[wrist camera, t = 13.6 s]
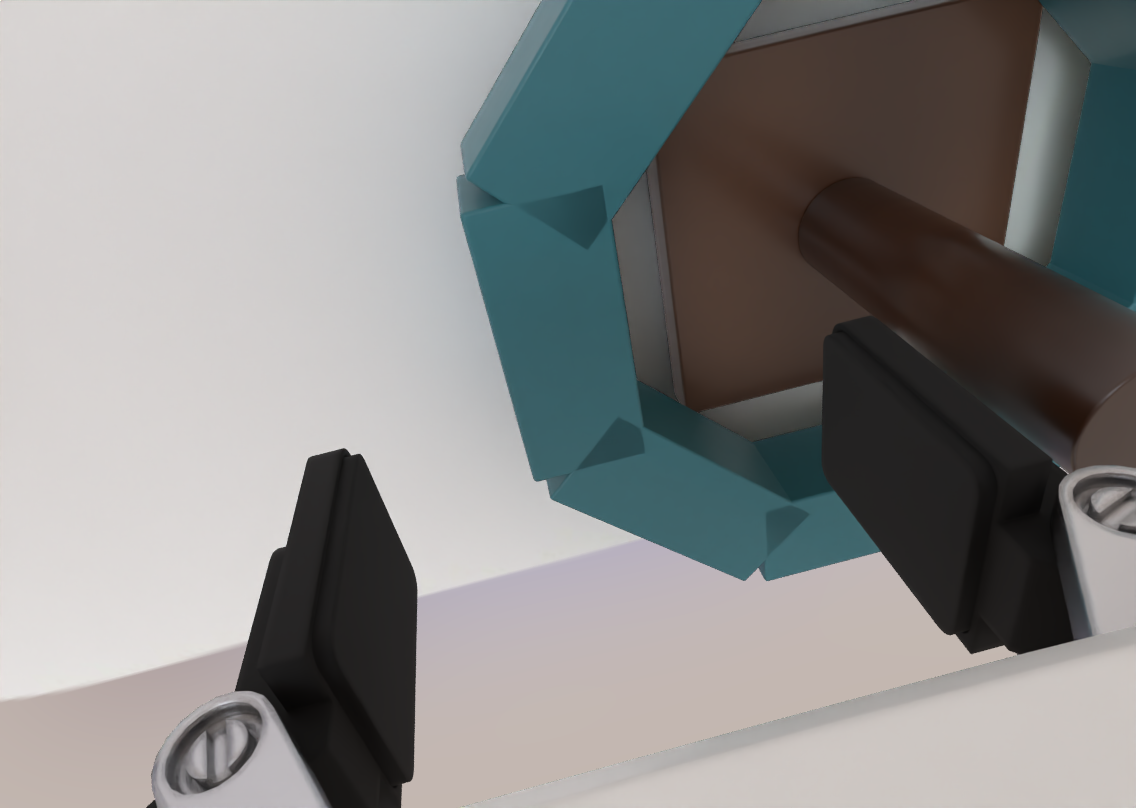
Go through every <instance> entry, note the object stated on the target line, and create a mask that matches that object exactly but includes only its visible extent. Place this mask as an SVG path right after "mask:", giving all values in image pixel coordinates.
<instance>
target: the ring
mask: <svg viewBox="0 0 1136 808" xmlns="http://www.w3.org/2000/svg"><path fill="white" fill-rule="evenodd" d="M761 1H762V0H542V1H541V3H540V4H539V6H538V8H537V10H536V11H535V13H534V15H533V17H532V18H531V20H530V22H529V24H528V26H527V27H526V29H525V31H524V33H523V34H522V36H521V38H520V40H519V41H518V43H517V45H516V47H515V48H514V50H513V52H512V54H511V56H510V57H509V59H508V61H507V63H506V64H505V66H504V68H503V70H502V71H501V73H500V75H499V77H498V78H497V80H496V82H495V84H494V86H493V87H492V89H491V91H490V93H489V94H488V96H487V98H486V100H485V101H484V103H483V105H482V107H481V109H480V110H479V112H478V114H477V116H476V117H475V119H474V121H473V123H472V124H471V126H470V128H469V130H468V131H467V133H466V135H465V137H464V139H463V140H462V142H461V151H462V158H463V164H464V171H465V175H460V176H458V177H457V190H458V199H459V209H460V218H461V221H462V225H463V228H464V232H465V235H466V239H467V243H468V246H469V250H470V253H471V257H472V261H473V264H474V268H475V271H476V275H477V278H478V282H479V286H480V289H481V293H482V296H483V300H484V304H485V307H486V311H487V314H488V318H489V321H490V325H491V329H492V332H493V336H494V339H495V343H496V347H497V350H498V354H499V357H500V361H501V364H502V368H503V372H504V375H505V379H506V382H507V386H508V390H509V393H510V397H511V400H512V404H513V407H514V411H515V415H516V418H517V422H518V425H519V429H520V433H521V436H522V440H523V443H524V447H525V450H526V454H527V458H528V461H529V465H530V468H531V472H532V475H533V479H534V480H535V481H542V480H547V485H548V489H549V494H550V498H551V499H552V500H554V501H556V502H559V503H561V504H563V505H566V506H568V507H571V508H573V509H575V510H578V511H580V512H582V513H585V514H587V515H589V516H592V517H594V518H597V519H599V520H601V521H604V522H606V523H608V524H611V525H613V526H615V527H618V528H620V529H623V530H625V531H627V532H630V533H632V534H634V535H637V536H639V537H641V538H644V539H646V540H648V541H651V542H653V543H656V544H658V545H660V546H663V547H665V548H667V549H670V550H672V551H674V552H677V553H679V554H682V555H684V556H686V557H689V558H691V559H693V560H696V561H698V562H700V563H703V564H705V565H708V566H710V567H712V568H715V569H717V570H719V571H722V572H724V573H726V574H729V575H731V576H734V577H736V578H738V579H741V580H743V581H745V580H746V579H747V578H748V577H749V576H750V575H751V574H752V573H753V572H754V571H755V570H756V569H757V568H759V569H760V572H761V573H762V575H763V577H764V579H765V580H766V581H770V580H774V579H777V578H781V577H785V576H789V575H793V574H797V573H801V572H804V571H808V570H812V569H816V568H820V567H823V566H827V565H831V564H835V563H839V562H843V561H847V560H850V559H854V558H858V557H862V556H865V555H869V554H873V553H877V552H881V551H880V550H879V548H878V547H877V546H876V544H875V543H874V542H873V541H872V539H871V538H870V537H869V535H868V534H867V533H866V531H865V530H864V529H863V527H862V526H861V525H860V524H859V522H858V521H857V520H856V518H855V517H854V516H853V514H852V513H851V512H850V510H849V509H848V508H847V506H846V505H845V504H844V503H843V501H842V500H841V499H840V497H839V496H838V495H837V493H836V492H835V491H834V489H833V488H832V487H831V486H830V484H829V483H828V481H827V479H826V477H825V475H824V472H823V468H822V461H821V457H822V425H818V426H814V427H810V428H806V429H802V430H798V431H794V432H790V433H786V434H782V435H778V436H774V437H770V438H766V439H763V440H759V441H755V442H751V441H749V440H747V439H745V438H744V437H742V436H740V435H738V434H736V433H734V432H732V431H731V430H729V429H727V428H725V427H723V426H721V425H720V424H718V423H716V422H714V421H712V420H710V419H708V418H707V417H705V416H703V415H701V414H699V413H697V412H696V411H694V410H692V409H690V408H688V407H686V406H684V405H683V404H681V403H679V402H677V401H675V400H673V399H671V398H670V397H668V396H666V395H664V394H662V393H660V392H659V391H657V390H655V389H653V388H651V387H649V386H647V385H646V384H644V383H642V382H640V381H638V380H637V377H636V371H635V364H634V358H633V352H632V345H631V339H630V332H629V326H628V320H627V313H626V307H625V300H624V294H623V288H622V281H621V275H620V269H619V262H618V256H617V249H616V243H615V237H614V230H613V224H612V219H613V217H614V216H615V214H616V213H617V212H618V210H619V209H620V207H621V206H622V204H623V203H624V201H625V200H626V198H627V197H628V195H629V194H630V193H631V191H632V190H633V188H634V187H635V185H636V184H637V182H638V181H639V179H640V178H641V176H642V175H643V174H644V172H645V171H646V169H647V168H648V166H649V165H650V163H651V162H652V160H653V159H654V158H655V156H656V155H657V153H658V152H659V150H660V149H661V147H662V146H663V144H664V143H665V141H666V140H667V139H668V137H669V136H670V134H671V133H672V131H673V130H674V128H675V127H676V125H677V124H678V123H679V121H680V120H681V118H682V117H683V115H684V114H685V112H686V111H687V109H688V108H689V106H690V105H691V104H692V102H693V101H694V99H695V98H696V96H697V95H698V93H699V92H700V90H701V89H702V87H703V86H704V85H705V83H706V82H707V80H708V79H709V77H710V76H711V74H712V73H713V71H714V70H715V69H716V67H717V66H718V64H719V63H720V61H721V60H722V58H723V57H724V55H725V54H726V52H727V51H728V50H729V48H730V47H731V45H732V44H733V42H734V41H735V39H736V38H737V36H738V35H739V34H740V32H741V31H742V29H743V28H744V26H745V25H746V23H747V22H748V20H749V19H750V17H751V16H752V15H753V13H754V12H755V10H756V9H757V7H758V6H759V4H760V3H761ZM1039 2H1040V3H1041V4H1042V5H1043V6H1044V7H1045V9H1046V10H1047V11H1048V12H1049V13H1050V15H1051V16H1052V17H1053V18H1054V19H1055V21H1056V22H1057V23H1058V24H1059V25H1060V26H1061V28H1062V29H1063V30H1064V31H1065V32H1066V34H1067V35H1068V36H1069V37H1070V38H1071V40H1072V41H1073V42H1074V43H1075V44H1076V45H1077V47H1078V48H1079V49H1080V50H1081V51H1082V53H1083V54H1084V55H1085V56H1086V57H1087V59H1088V60H1089V61H1090V62H1091V66H1090V71H1089V76H1088V81H1087V86H1086V91H1085V95H1084V100H1083V105H1082V110H1081V115H1080V120H1079V124H1078V129H1077V134H1076V139H1075V144H1074V149H1073V154H1072V158H1071V163H1070V168H1069V173H1068V178H1067V183H1066V187H1065V192H1064V197H1063V202H1062V207H1061V212H1060V216H1059V221H1058V226H1057V231H1056V236H1055V241H1054V245H1053V250H1052V255H1051V260H1050V263H1049V264H1048V265H1047V266H1046V267H1047V268H1049V269H1051V270H1053V271H1055V272H1057V273H1059V274H1061V275H1063V276H1065V277H1067V278H1069V279H1071V280H1073V281H1075V282H1077V283H1079V284H1081V285H1083V286H1085V287H1087V288H1089V289H1091V290H1093V291H1095V292H1097V293H1099V294H1101V295H1103V296H1105V297H1107V298H1109V299H1111V300H1113V301H1115V302H1117V303H1119V304H1121V305H1123V306H1125V307H1127V308H1129V309H1131V310H1133V311H1135V312H1136V0H1039ZM1052 462H1053V463H1055V462H1054V461H1053V460H1052ZM1055 464H1056V463H1055ZM1056 465H1057V466H1058V467H1060V466H1059V465H1058V464H1056Z"/></svg>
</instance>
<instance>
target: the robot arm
mask: <svg viewBox="0 0 1136 808" xmlns="http://www.w3.org/2000/svg"><path fill="white" fill-rule="evenodd" d="M1052 460H1053V459H1052V458H1051V457H1050V456H1048V455H1047V454H1046V453H1045V452H1043V451H1042V450H1041V449H1040V448H1038V447H1037V446H1036V445H1035V444H1033V443H1032V442H1031V441H1030V440H1028V439H1027V438H1026V437H1025V436H1023V435H1022V434H1021V433H1020V432H1018V431H1017V430H1016V429H1015V428H1013V427H1012V426H1011V425H1010V424H1008V423H1007V422H1006V421H1005V420H1003V419H1002V418H1001V417H1000V416H998V415H997V414H996V413H995V412H993V411H992V410H991V409H990V408H988V407H987V406H986V405H985V404H983V403H982V402H981V401H980V400H978V399H977V398H976V397H975V396H973V395H972V394H971V393H970V392H968V391H967V390H966V389H965V388H963V387H962V386H961V385H960V384H958V383H957V382H956V381H955V380H953V379H952V378H951V377H950V376H948V375H947V374H946V373H945V372H943V371H942V370H941V369H940V368H938V367H937V366H936V365H935V364H933V363H932V362H931V361H930V360H928V359H927V358H926V357H925V356H923V355H922V354H921V353H920V352H918V351H917V350H916V349H915V348H913V347H912V346H911V345H910V344H908V343H907V342H906V341H905V340H903V339H902V338H901V337H900V336H898V335H897V334H896V333H895V332H893V331H892V330H891V329H890V328H888V327H887V326H886V325H885V324H883V323H882V322H881V321H880V320H878V319H877V318H876V317H874V316H866V317H862V318H858V319H854V320H850V321H846V322H842V323H838V324H836V325H835V326H834V328H833V331H832V334H830V335H827V336H826V337H825V339H824V343H823V392H822V457H821V461H822V468H823V472H824V475H825V477H826V479H827V481H828V483H829V484H830V486H831V487H832V488H833V489H834V491H835V492H836V493H837V495H838V496H839V497H840V499H841V500H842V501H843V503H844V504H845V505H846V506H847V508H848V509H849V510H850V512H851V513H852V514H853V516H854V517H855V518H856V520H857V521H858V522H859V524H860V525H861V526H862V527H863V529H864V530H865V531H866V533H867V534H868V535H869V537H870V538H871V539H872V541H873V542H874V543H875V544H876V546H877V547H878V548H879V550H880V551H881V552H882V554H883V555H884V556H885V558H886V559H887V560H888V561H889V563H890V564H891V565H892V567H893V568H894V569H895V571H896V572H897V573H898V575H900V577H901V579H902V580H903V581H904V582H905V584H906V585H907V586H908V588H909V589H910V590H911V592H912V593H913V594H914V596H915V597H916V598H917V599H918V601H919V602H920V603H921V605H922V606H923V607H924V609H925V610H926V611H927V613H928V614H929V615H930V616H931V618H932V619H933V620H934V622H935V623H936V624H937V626H938V627H939V628H940V629H941V630H942V631H943V632H944V633H946V634H947V635H953V634H956V635H957V637H958V638H959V639H960V641H961V642H962V643H963V644H964V646H965V647H966V648H967V650H968V651H969V652H970V653H971V654H973V653H977V652H981V651H984V650H988V649H992V648H995V647H999V646H1003V645H1005V646H1006V648H1007V649H1008V650H1009V651H1012V652H1015V653H1017V656H1013V657H1009V658H1005V659H1002V660H998V661H994V662H990V663H987V664H983V665H979V666H976V667H972V668H968V669H965V670H961V671H957V672H953V673H950V674H946V675H942V676H938V677H935V678H931V679H927V680H923V681H919V682H916V683H912V684H908V685H904V686H901V687H897V688H893V689H890V690H886V691H882V692H878V693H874V694H871V695H867V696H863V697H859V698H856V699H852V700H849V701H845V702H841V703H837V704H834V705H830V706H826V707H823V708H819V709H815V710H812V711H808V712H804V713H801V714H797V715H793V716H790V717H786V718H782V719H778V720H775V721H772V722H768V723H764V724H760V725H757V726H753V727H749V728H746V729H742V730H738V731H734V732H731V733H727V734H723V735H720V736H716V737H713V738H709V739H705V740H701V741H698V742H694V743H691V744H687V745H683V746H680V747H676V748H672V749H669V750H665V751H661V752H658V753H654V754H650V755H647V756H643V757H639V758H636V759H632V760H629V761H625V762H622V763H618V764H614V765H611V766H607V767H603V768H600V769H597V770H593V771H589V772H586V773H582V774H578V775H575V776H571V777H568V778H564V779H560V780H557V781H553V782H550V783H546V784H542V785H539V786H536V787H532V788H528V789H524V790H521V791H517V792H514V793H510V794H506V795H503V796H500V797H496V798H493V799H489V800H485V801H482V802H478V803H474V804H471V805H467V806H464V807H460V808H1136V468H1131V467H1124V466H1117V465H1094V466H1089V467H1085V468H1080V469H1077V470H1075V471H1073V472H1072V473H1070V474H1067V473H1066V472H1065V471H1063V470H1062V469H1061V468H1060V467H1058V466H1057V465H1056V464H1055V463H1053V462H1052ZM416 632H417V582H416V577H415V573H414V570H413V567H412V565H411V563H410V561H409V558H408V556H407V554H406V552H405V549H404V547H403V545H402V543H401V540H400V538H399V536H398V534H397V531H396V529H395V527H394V525H393V523H392V520H391V518H390V516H389V514H388V511H387V509H386V507H385V505H384V502H383V500H382V498H381V496H380V493H379V491H378V489H377V487H376V485H375V482H374V480H373V478H372V476H371V473H370V471H369V469H368V467H367V464H366V462H365V460H364V458H363V457H362V455H361V454H356V455H352V456H351V455H350V453H349V452H348V451H347V450H346V449H344V448H343V449H339V450H335V451H331V452H327V453H323V454H320V455H316V456H312V457H310V458H308V461H307V463H306V468H305V472H304V476H303V480H302V484H301V488H300V492H299V496H298V500H297V504H296V508H295V512H294V516H293V521H292V525H291V529H290V533H289V537H288V541H287V545H286V547H283V548H279V549H277V550H276V551H274V552H273V554H272V556H271V559H270V561H269V565H268V569H267V573H266V576H265V580H264V584H263V588H262V591H261V595H260V599H259V603H258V606H257V610H256V614H255V618H254V621H253V625H252V629H251V633H250V636H249V640H248V644H247V648H246V651H245V655H244V659H243V663H242V666H241V670H240V674H239V678H238V682H237V685H236V689H235V691H234V692H231V693H228V694H225V695H221V696H218V697H216V698H214V699H212V700H210V701H209V702H207V703H205V704H203V705H201V706H200V707H198V708H197V709H196V710H195V711H193V712H192V713H191V714H189V715H188V716H187V717H186V718H184V719H183V720H182V721H181V722H180V723H179V724H178V726H177V727H176V728H175V729H174V730H173V731H172V733H171V734H170V735H169V736H168V737H167V738H166V740H165V742H164V744H163V745H162V747H161V749H160V750H159V752H158V754H157V756H156V759H155V762H154V766H153V769H152V773H151V779H152V791H153V794H154V798H155V800H154V801H153V802H152V803H151V804H150V805H148V806H147V807H146V808H401V794H402V793H401V792H402V784H403V783H406V782H410V781H411V780H412V778H413V772H414V733H415V730H414V729H415V683H416V682H415V678H416Z"/></svg>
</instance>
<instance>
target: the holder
mask: <svg viewBox="0 0 1136 808" xmlns="http://www.w3.org/2000/svg"><path fill="white" fill-rule="evenodd" d="M1042 11H1043V5H1042V4H1041V3H1040V2H1039V0H913V1H909V2H904V3H900V4H896V5H892V6H887V7H883V8H879V9H875V10H870V11H866V12H862V13H858V14H854V15H849V16H845V17H841V18H837V19H832V20H828V21H824V22H820V23H815V24H811V25H807V26H803V27H798V28H794V29H790V30H786V31H781V32H777V33H773V34H769V35H764V36H760V37H756V38H752V39H748V40H743V41H739V42H735V43H733V44H732V45H731V47H730V48H729V50H728V51H727V52H726V54H725V55H724V57H723V58H722V60H721V61H720V63H719V64H718V66H717V67H716V69H715V70H714V71H713V73H712V74H711V76H710V77H709V79H708V80H707V82H706V83H705V85H704V86H703V87H702V89H701V90H700V92H699V93H698V95H697V96H696V98H695V99H694V101H693V102H692V104H691V105H690V106H689V108H688V109H687V111H686V112H685V114H684V115H683V117H682V118H681V120H680V121H679V123H678V124H677V125H676V127H675V128H674V130H673V131H672V133H671V134H670V136H669V137H668V139H667V140H666V141H665V143H664V144H663V146H662V147H661V149H660V150H659V152H658V153H657V155H656V156H655V158H654V159H653V160H652V162H651V163H650V165H649V166H648V168H647V169H646V170H647V178H648V186H649V194H650V202H651V210H652V218H653V226H654V234H655V242H656V250H657V258H658V266H659V274H660V282H661V290H662V298H663V306H664V314H665V322H666V330H667V338H668V346H669V354H670V362H671V370H672V378H673V386H674V394H675V395H676V397H677V399H678V401H679V403H681V404H683V405H684V406H686V407H688V408H690V409H692V410H694V411H696V412H701V411H705V410H709V409H713V408H717V407H721V406H725V405H729V404H733V403H736V402H740V401H744V400H748V399H752V398H756V397H760V396H764V395H768V394H772V393H776V392H780V391H784V390H788V389H792V388H796V387H800V386H804V385H807V384H811V383H815V382H819V381H823V343H824V339H825V337H826V336H827V335H830V334H832V331H833V328H834V326H835V325H836V324H838V323H842V322H846V321H850V320H854V319H858V318H862V317H866V316H874V317H876V318H877V319H878V320H880V321H881V322H882V323H883V324H885V325H886V326H887V327H888V328H890V329H891V330H892V331H893V332H895V333H896V334H897V335H898V336H900V337H901V338H902V339H903V340H905V341H906V342H907V343H908V344H910V345H911V346H912V347H913V348H915V349H916V350H917V351H918V352H920V353H921V354H922V355H923V356H925V357H926V358H927V359H928V360H930V361H931V362H932V363H933V364H935V365H936V366H937V367H938V368H940V369H941V370H942V371H943V372H945V373H946V374H947V375H948V376H950V377H951V378H952V379H953V380H955V381H956V382H957V383H958V384H960V385H961V386H962V387H963V388H965V389H966V390H967V391H968V392H970V393H971V394H972V395H973V396H975V397H976V398H977V399H978V400H980V401H981V402H982V403H983V404H985V405H986V406H987V407H988V408H990V409H991V410H992V411H993V412H995V413H996V414H997V415H998V416H1000V417H1001V418H1002V419H1003V420H1005V421H1006V422H1007V423H1008V424H1010V425H1011V426H1012V427H1013V428H1015V429H1016V430H1017V431H1018V432H1020V433H1021V434H1022V435H1023V436H1025V437H1026V438H1027V439H1028V440H1030V441H1031V442H1032V443H1033V444H1035V445H1036V446H1037V447H1038V448H1040V449H1041V450H1042V451H1043V452H1045V453H1046V454H1047V455H1048V456H1050V457H1051V458H1052V459H1053V461H1054V462H1055V463H1056V464H1058V465H1059V466H1060V467H1061V468H1063V469H1064V470H1065V471H1066V472H1068V473H1069V474H1070V473H1072V472H1073V471H1075V470H1077V469H1080V468H1085V467H1089V466H1094V465H1117V466H1124V467H1131V468H1136V312H1135V311H1133V310H1131V309H1129V308H1127V307H1125V306H1123V305H1121V304H1119V303H1117V302H1115V301H1113V300H1111V299H1109V298H1107V297H1105V296H1103V295H1101V294H1099V293H1097V292H1095V291H1093V290H1091V289H1089V288H1087V287H1085V286H1083V285H1081V284H1079V283H1077V282H1075V281H1073V280H1071V279H1069V278H1067V277H1065V276H1063V275H1061V274H1059V273H1057V272H1055V271H1053V270H1051V269H1049V268H1047V267H1045V266H1043V265H1041V264H1039V263H1037V262H1035V261H1033V260H1031V259H1029V258H1027V257H1025V256H1023V255H1021V254H1019V253H1017V252H1015V251H1013V250H1011V249H1009V248H1007V247H1005V246H1004V243H1005V237H1006V231H1007V225H1008V218H1009V212H1010V206H1011V200H1012V194H1013V188H1014V182H1015V176H1016V170H1017V164H1018V157H1019V151H1020V145H1021V139H1022V133H1023V127H1024V121H1025V115H1026V109H1027V102H1028V96H1029V90H1030V84H1031V78H1032V72H1033V66H1034V60H1035V54H1036V48H1037V41H1038V35H1039V29H1040V23H1041V17H1042Z"/></svg>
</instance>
